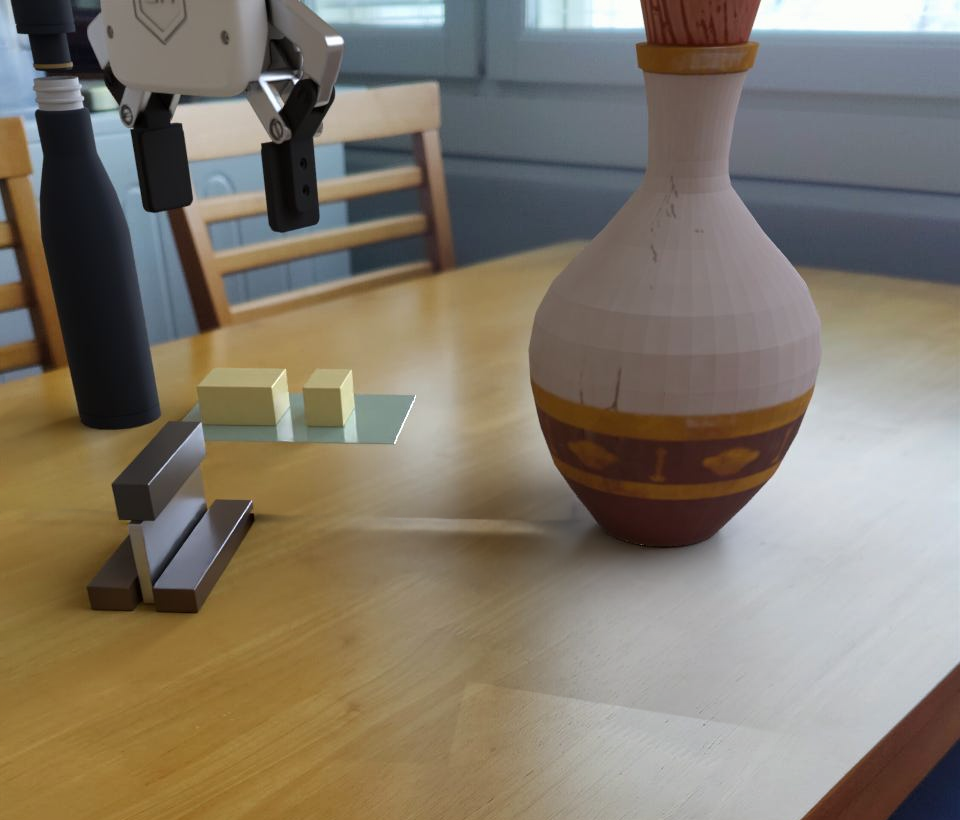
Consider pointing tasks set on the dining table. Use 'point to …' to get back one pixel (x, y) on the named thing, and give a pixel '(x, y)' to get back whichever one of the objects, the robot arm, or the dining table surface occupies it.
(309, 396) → the butter pat
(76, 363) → the black bottle
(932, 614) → the dining table surface
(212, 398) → the butter
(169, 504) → the black and grey blade
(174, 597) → the stand
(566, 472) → the ceramic vase
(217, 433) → the butter dish
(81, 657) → the dining table surface
